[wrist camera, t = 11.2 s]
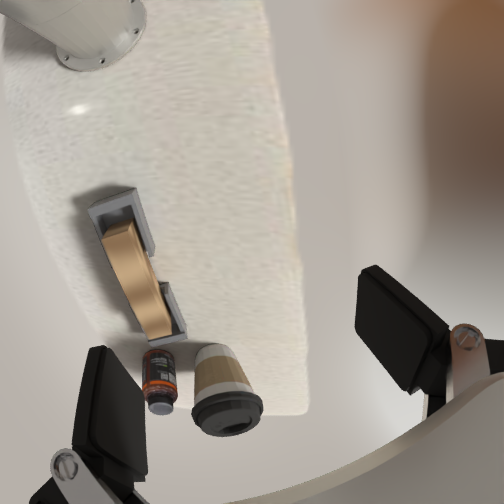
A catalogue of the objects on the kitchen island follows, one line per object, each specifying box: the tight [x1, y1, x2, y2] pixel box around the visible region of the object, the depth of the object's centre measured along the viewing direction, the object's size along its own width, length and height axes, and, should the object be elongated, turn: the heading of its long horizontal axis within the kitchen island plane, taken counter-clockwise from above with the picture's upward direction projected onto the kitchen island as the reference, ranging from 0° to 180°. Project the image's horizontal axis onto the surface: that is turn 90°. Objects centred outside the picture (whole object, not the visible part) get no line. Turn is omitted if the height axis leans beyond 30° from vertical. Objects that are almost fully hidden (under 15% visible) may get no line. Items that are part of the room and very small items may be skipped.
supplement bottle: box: [142, 350, 178, 415], centre depth 40 cm, size 6×6×11 cm
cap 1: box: [87, 188, 155, 268], centre depth 32 cm, size 9×6×3 cm
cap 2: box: [129, 282, 188, 347], centre depth 39 cm, size 9×6×3 cm
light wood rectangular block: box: [101, 218, 172, 340], centre depth 34 cm, size 16×4×5 cm, turn 10°
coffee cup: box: [191, 344, 263, 437], centre depth 41 cm, size 11×11×15 cm
